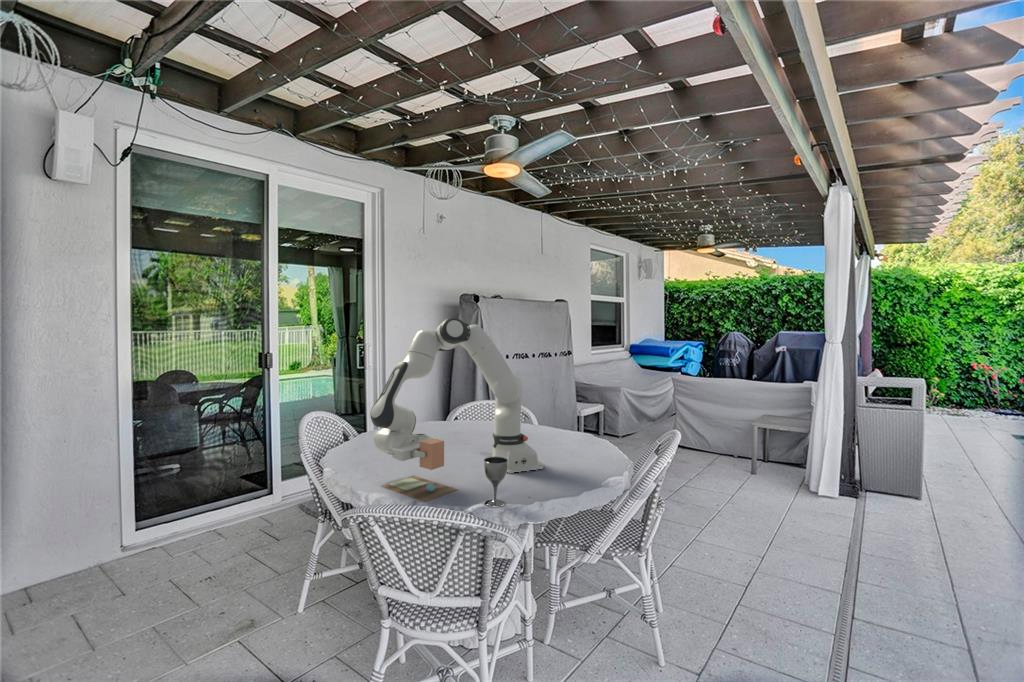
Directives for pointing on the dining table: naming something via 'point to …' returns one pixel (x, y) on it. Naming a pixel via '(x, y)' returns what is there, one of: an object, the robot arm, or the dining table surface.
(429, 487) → the ball
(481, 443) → the dining table surface
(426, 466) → the tall salmon pillar
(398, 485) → the board
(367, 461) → the dining table surface
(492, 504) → the wine glass
